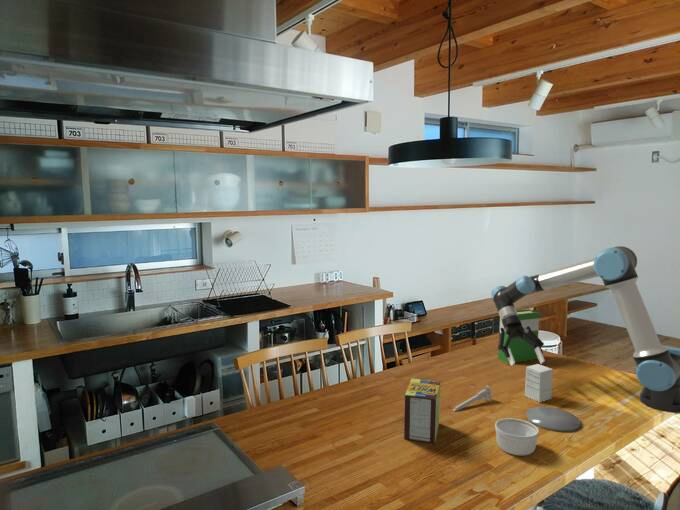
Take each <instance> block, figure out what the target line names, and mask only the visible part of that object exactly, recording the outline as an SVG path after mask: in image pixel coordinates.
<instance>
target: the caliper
mask: <svg viewBox="0 0 680 510" xmlns="http://www.w3.org/2000/svg"><path fill="white" fill-rule="evenodd" d="M491 395H492V391H491V387H490V386H489V385H486V386H484V388H483V389H482V390H480V391H479V392H477V393H476V394H475V395H474V396H472V397H469V398H468V399H467V400H465V401H462V402H461V403H459V404H458V405H455V406H454V408H453V409H452V411H453V412H458V411H460V410H463V409H464V408H465V407H467V406H469V405H471V404H473V403H475V402H476V401H481V400H482V399H484V400H485V402H486V401H487V402H488V400H489V401H490V400H492V396H491Z"/></svg>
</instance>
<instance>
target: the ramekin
mask: <svg viewBox="0 0 680 510" xmlns="http://www.w3.org/2000/svg"><path fill="white" fill-rule="evenodd" d="M494 425H495V426H494V429H495V438H496V444H497V446H498V447H499V448H500V450H502V451H503V452H505V453H507V454H510V455H514V456H518V457H520V456H521V457H522V456H530V455H531V454H532V453H534V452H535V450H536V447H537V443H538V437H539V435H540V431H539V428H538V426H536V425H534V424H532V423H531V422H529V421H527V420H524V419H519V418H512V417H511V418H510V417H507V418H500V419H498V420H496V421H495V424H494Z"/></svg>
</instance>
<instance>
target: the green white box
mask: <svg viewBox="0 0 680 510" xmlns="http://www.w3.org/2000/svg"><path fill="white" fill-rule="evenodd" d="M516 311H517V313H518V316H519V318H520V321H521V324H522V327H523V328H527V327H528V326H529V327H530V329H531V331H532V332H533V333H534V334H535V335H536V336H537V337H538V338H539V331H540V330H539V328H540V327H539V325H540V312H539V311H537V312H536V311H531V309H529V308H528V309H527V308H526V309H516ZM501 328H504V326H503V324H502V321H501V318H500V317H499V330H500V329H501ZM524 332H525V331H524ZM498 336H499V337H500V334H499V335H498ZM508 336H509V335H508V334H507V333H506V332H505V336H504V344H503V346H504V345H505V343H506V340H507V338H508ZM523 336H524V335H523ZM499 337H498V338H499ZM536 346H537V345H536ZM508 348H510V350H511V353H512V356H513V358H514V361H515V362H516V363H522V362H521V361H523V362H527V360H530V361H534V360H533V359H537V360H538V357H537V355H536V352H535V349H536V348H534V347H533V346H532V345H530V344H529V343H528V342H526V341H525V340H523V339H521V338H520V339H518V338H516V339H513V338H512V339H511V341H510V344H509V346H508ZM508 348H507V349H508ZM497 353H498V354H497V355H498V357H497V359H498V360H499V359H500V361H502V362H504V363H506V364H508V363H509V364H510V362H509V360H508V358H506V356H505V353H504V352H502V350H499V349H498V351H497Z"/></svg>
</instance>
